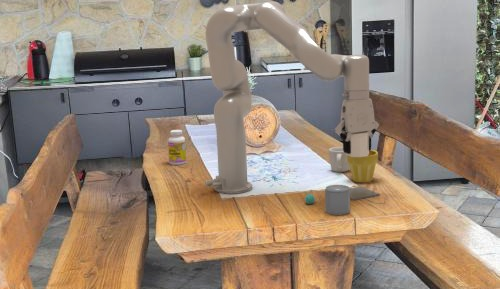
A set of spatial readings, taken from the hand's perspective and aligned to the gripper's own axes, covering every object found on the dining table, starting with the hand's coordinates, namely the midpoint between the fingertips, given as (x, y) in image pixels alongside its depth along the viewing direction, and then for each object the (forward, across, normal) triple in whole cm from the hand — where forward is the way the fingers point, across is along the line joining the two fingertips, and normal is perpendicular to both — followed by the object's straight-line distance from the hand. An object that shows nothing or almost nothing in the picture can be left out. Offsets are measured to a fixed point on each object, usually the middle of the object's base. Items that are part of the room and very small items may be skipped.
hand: (357, 150), depth 228 cm
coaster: (+14, 0, 0) cm, 14 cm away
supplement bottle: (+14, -34, +72) cm, 81 cm away
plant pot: (+14, +11, +13) cm, 22 cm away
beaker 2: (+1, 0, 0) cm, 1 cm away
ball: (+14, -18, -1) cm, 23 cm away
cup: (+14, +11, +27) cm, 33 cm away
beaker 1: (+14, -15, -12) cm, 24 cm away
